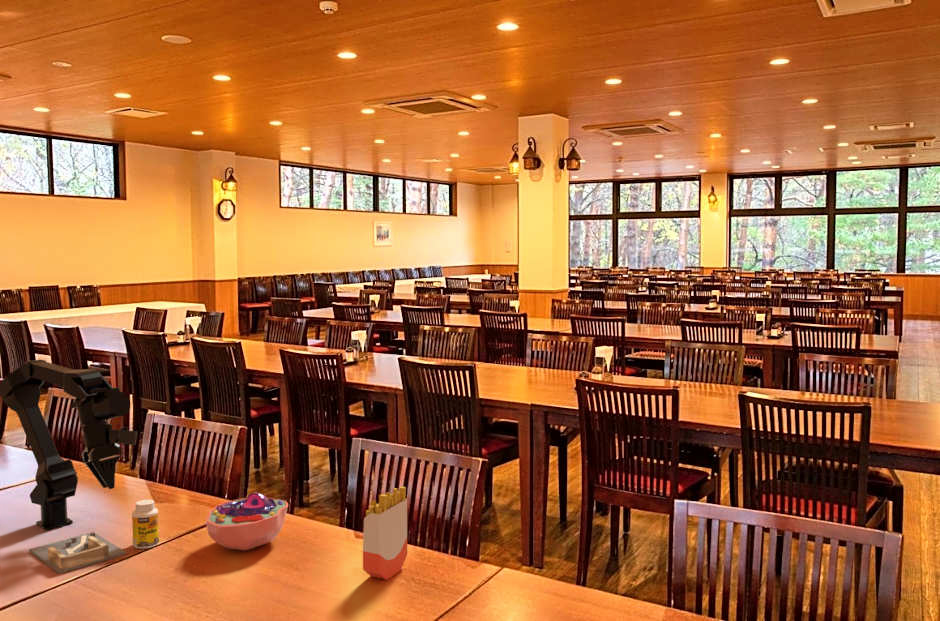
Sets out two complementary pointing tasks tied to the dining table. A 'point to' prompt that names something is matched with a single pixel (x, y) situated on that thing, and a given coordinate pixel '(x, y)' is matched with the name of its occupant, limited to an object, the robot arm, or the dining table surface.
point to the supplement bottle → (145, 525)
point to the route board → (74, 550)
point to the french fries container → (385, 535)
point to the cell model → (246, 521)
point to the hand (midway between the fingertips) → (108, 488)
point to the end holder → (79, 554)
